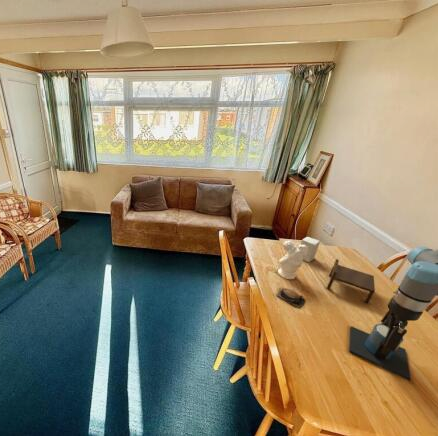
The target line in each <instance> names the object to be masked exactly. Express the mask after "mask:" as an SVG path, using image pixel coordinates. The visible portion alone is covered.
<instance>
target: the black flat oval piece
mask: <svg viewBox="0 0 438 436" xmlns="http://www.w3.org/2000/svg"><path fill="white" fill-rule="evenodd" d="M276 296H277V297H278V298H280V299H282V300H283V301H285V302H286V303H289V304H290V305H293V306H295V307H297V308H301V307H302V306H303V304H304V303H305V301H306V299H305V297H304V296H303V295H299V293H298V292H296V291H295V290H293V289H290V288H284V287H282V288H281V289H280V290H279V291H278V292H277V293H276Z"/></svg>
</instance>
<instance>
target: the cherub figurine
mask: <svg viewBox="0 0 438 436" xmlns="http://www.w3.org/2000/svg"><path fill="white" fill-rule="evenodd" d="M282 247H283V249H284V250H285V252H286V254H285V255H284V256H283V257H282V258H280V259H279V260H278V263H279V264H280V268H279V269H278V270H277V273H278V275H279V276H280V277H281V278H284V279H286V280H287V279H288V280H294V279H296V276H297V275H296V272H297V271H298V269H299V268H301V267H302V265H303V263H304V262H303V261H304V260H303V255H307V254H308V251H309V250H308V249H309V248H308V246H306V245H305V244H304V245H301V244H300V245H299V246H298V247H297V246H296V243H295V242H294V241H293V240H285V241H284V242H283V243H282Z"/></svg>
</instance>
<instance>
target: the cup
mask: <svg viewBox="0 0 438 436" xmlns="http://www.w3.org/2000/svg"><path fill="white" fill-rule="evenodd" d="M388 330H389V327H388V326H386V325H383V324H382V323H375V324H374V326H373V327H372V329H371V331H370V333H368V334H369V336H368V338H367V339H366V341H365V346H366V347H367V349H368V350H369V351H370V352H372V353H373V354H374V353H375V352H376V350H377V348H378V347H379V345H380V342H382V343H383V342H384V339H385V337H386V334H387V332H388ZM403 342H404V337H403V338H402V339H401V341H400V343H399V345H398V346H397V348H396V350H397V349H398V347H401V344H403ZM396 350H395V351H394V352H392V351H390V352H389V354H388V355H387V357H386V358H385V359H390V358H391V357H392V356H393V355H394V353H395V352H396Z"/></svg>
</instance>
